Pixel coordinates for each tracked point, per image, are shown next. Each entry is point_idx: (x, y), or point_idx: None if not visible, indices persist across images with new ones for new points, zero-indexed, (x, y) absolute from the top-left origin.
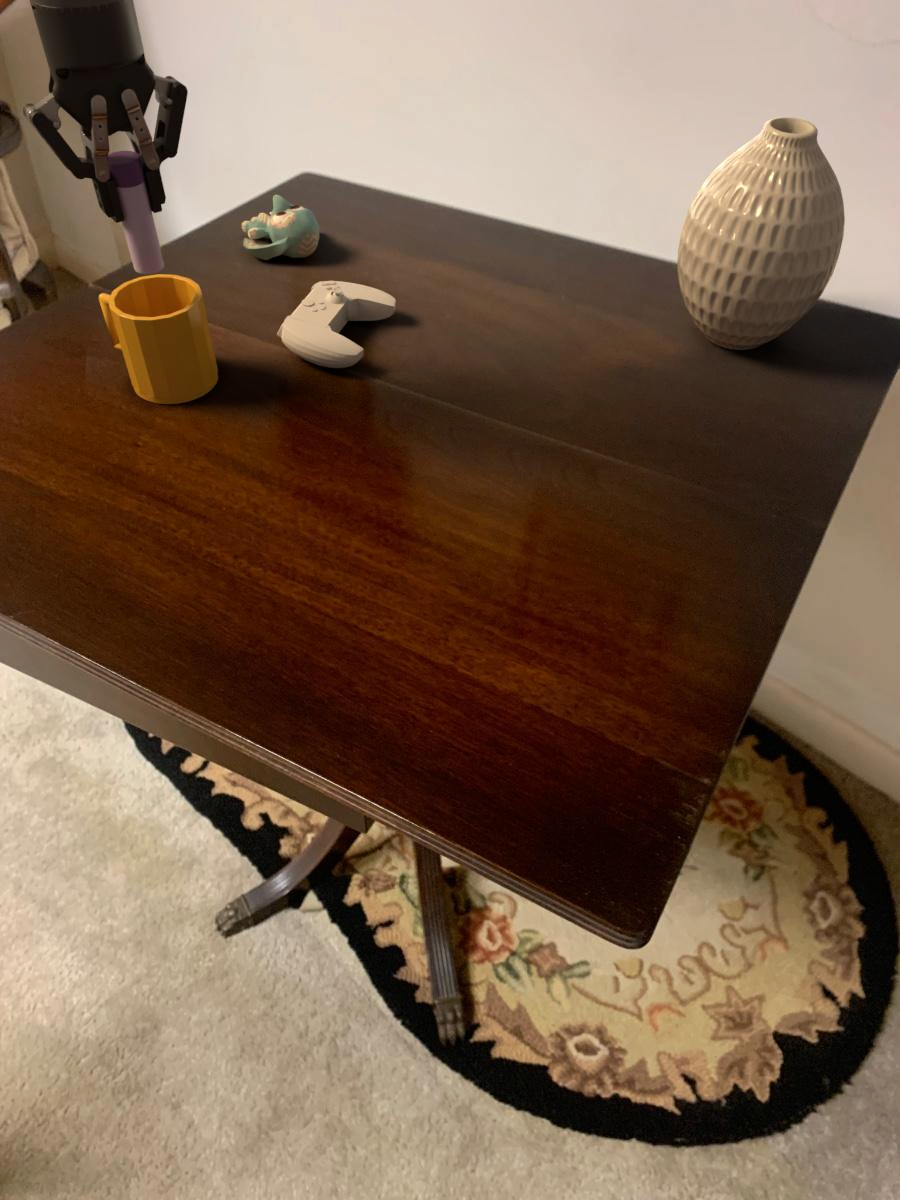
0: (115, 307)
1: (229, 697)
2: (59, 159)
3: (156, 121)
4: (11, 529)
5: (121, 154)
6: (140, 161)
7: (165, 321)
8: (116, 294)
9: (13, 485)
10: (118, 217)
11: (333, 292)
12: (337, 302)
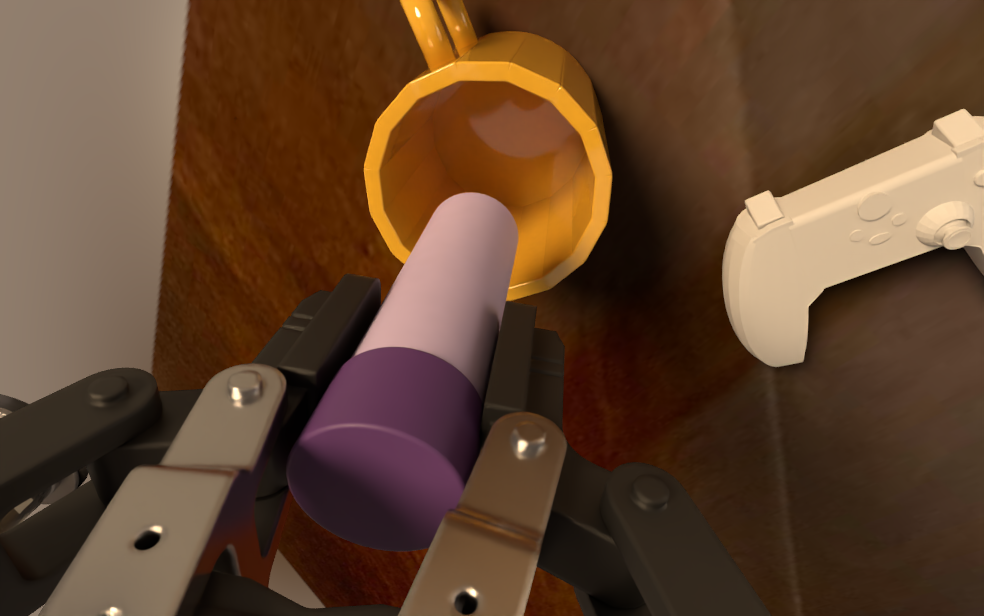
0: (375, 177)
1: (304, 556)
2: (36, 402)
3: (670, 612)
4: (162, 286)
5: (387, 472)
6: None
7: None
8: (405, 114)
9: (173, 207)
10: None
11: (959, 215)
12: (925, 242)
